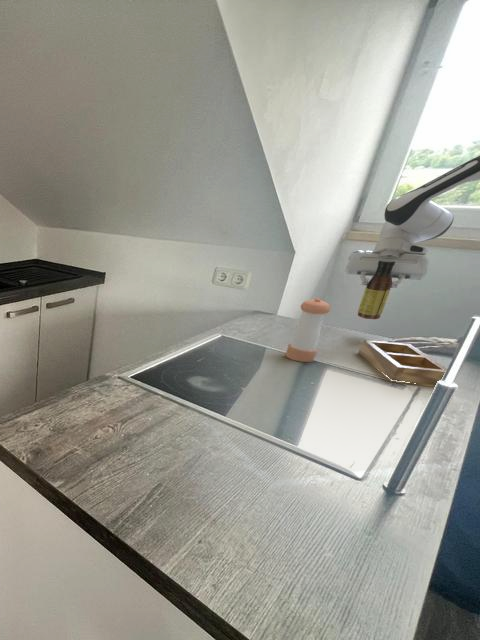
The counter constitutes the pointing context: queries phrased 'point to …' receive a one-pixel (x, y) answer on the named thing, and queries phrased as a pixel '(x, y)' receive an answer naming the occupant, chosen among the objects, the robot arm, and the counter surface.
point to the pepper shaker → (308, 331)
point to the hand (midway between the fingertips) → (378, 285)
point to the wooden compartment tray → (402, 362)
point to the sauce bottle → (377, 291)
